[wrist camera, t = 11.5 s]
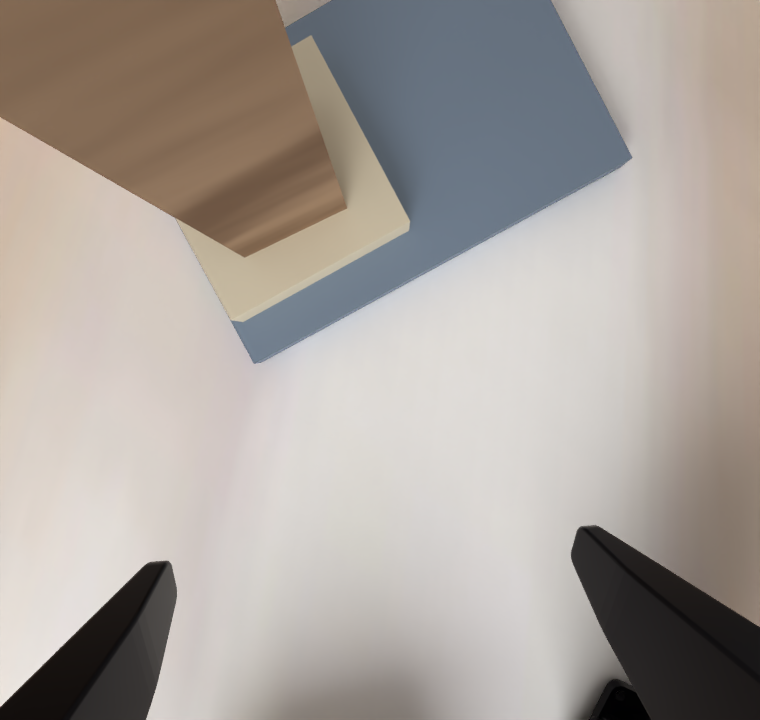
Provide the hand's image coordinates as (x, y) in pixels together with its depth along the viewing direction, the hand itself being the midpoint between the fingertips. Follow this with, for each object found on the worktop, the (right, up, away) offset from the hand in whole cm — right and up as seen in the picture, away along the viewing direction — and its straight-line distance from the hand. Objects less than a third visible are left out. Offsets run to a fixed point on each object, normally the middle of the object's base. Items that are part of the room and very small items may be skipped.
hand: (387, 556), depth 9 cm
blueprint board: (0, +15, +11) cm, 18 cm away
